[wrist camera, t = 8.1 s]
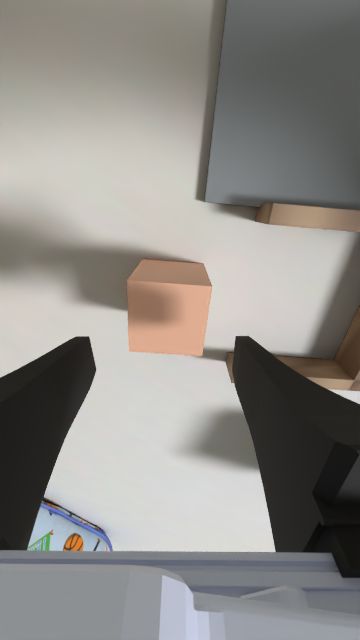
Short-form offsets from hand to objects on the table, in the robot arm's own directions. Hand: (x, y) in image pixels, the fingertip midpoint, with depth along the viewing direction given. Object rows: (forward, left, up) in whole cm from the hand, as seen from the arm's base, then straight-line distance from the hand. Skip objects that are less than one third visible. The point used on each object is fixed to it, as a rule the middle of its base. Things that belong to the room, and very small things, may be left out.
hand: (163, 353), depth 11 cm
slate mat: (-8, -12, -9) cm, 17 cm away
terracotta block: (0, 0, -10) cm, 10 cm away
